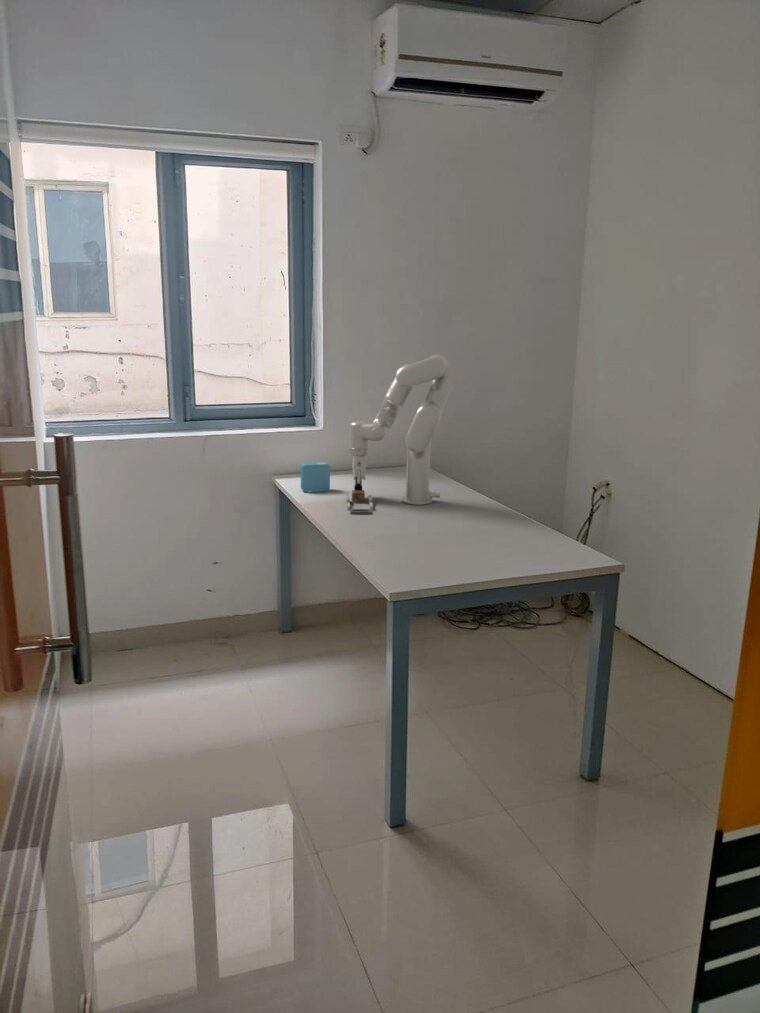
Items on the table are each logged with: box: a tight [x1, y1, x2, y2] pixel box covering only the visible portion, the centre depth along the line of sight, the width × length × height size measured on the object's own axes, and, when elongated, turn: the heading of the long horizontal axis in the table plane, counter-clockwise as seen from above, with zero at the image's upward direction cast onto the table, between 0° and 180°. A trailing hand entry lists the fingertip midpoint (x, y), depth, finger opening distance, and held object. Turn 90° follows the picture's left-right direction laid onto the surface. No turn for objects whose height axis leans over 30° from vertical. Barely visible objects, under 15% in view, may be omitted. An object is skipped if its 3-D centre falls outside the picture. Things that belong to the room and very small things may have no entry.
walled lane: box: [346, 494, 373, 506], centre depth 316 cm, size 10×7×2 cm
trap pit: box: [349, 508, 372, 515], centre depth 302 cm, size 8×4×1 cm, turn 94°
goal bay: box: [346, 502, 374, 511], centre depth 309 cm, size 10×6×2 cm, turn 94°
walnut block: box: [351, 489, 366, 503], centre depth 320 cm, size 5×5×4 cm
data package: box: [300, 461, 331, 493], centre depth 334 cm, size 12×4×12 cm, turn 104°
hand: (358, 495), depth 324 cm, fingers closed
